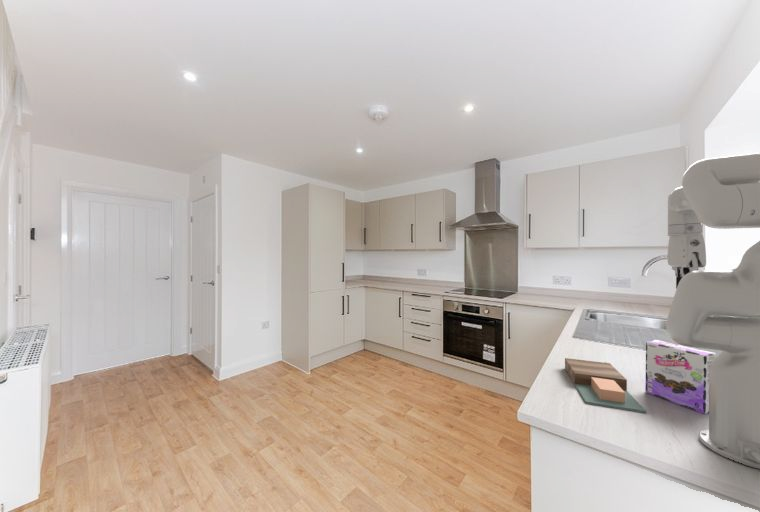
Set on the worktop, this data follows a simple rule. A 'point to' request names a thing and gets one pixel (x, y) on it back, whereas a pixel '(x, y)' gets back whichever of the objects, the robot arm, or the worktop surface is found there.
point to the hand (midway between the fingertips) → (684, 289)
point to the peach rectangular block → (607, 389)
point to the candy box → (678, 374)
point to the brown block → (593, 372)
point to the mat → (593, 398)
